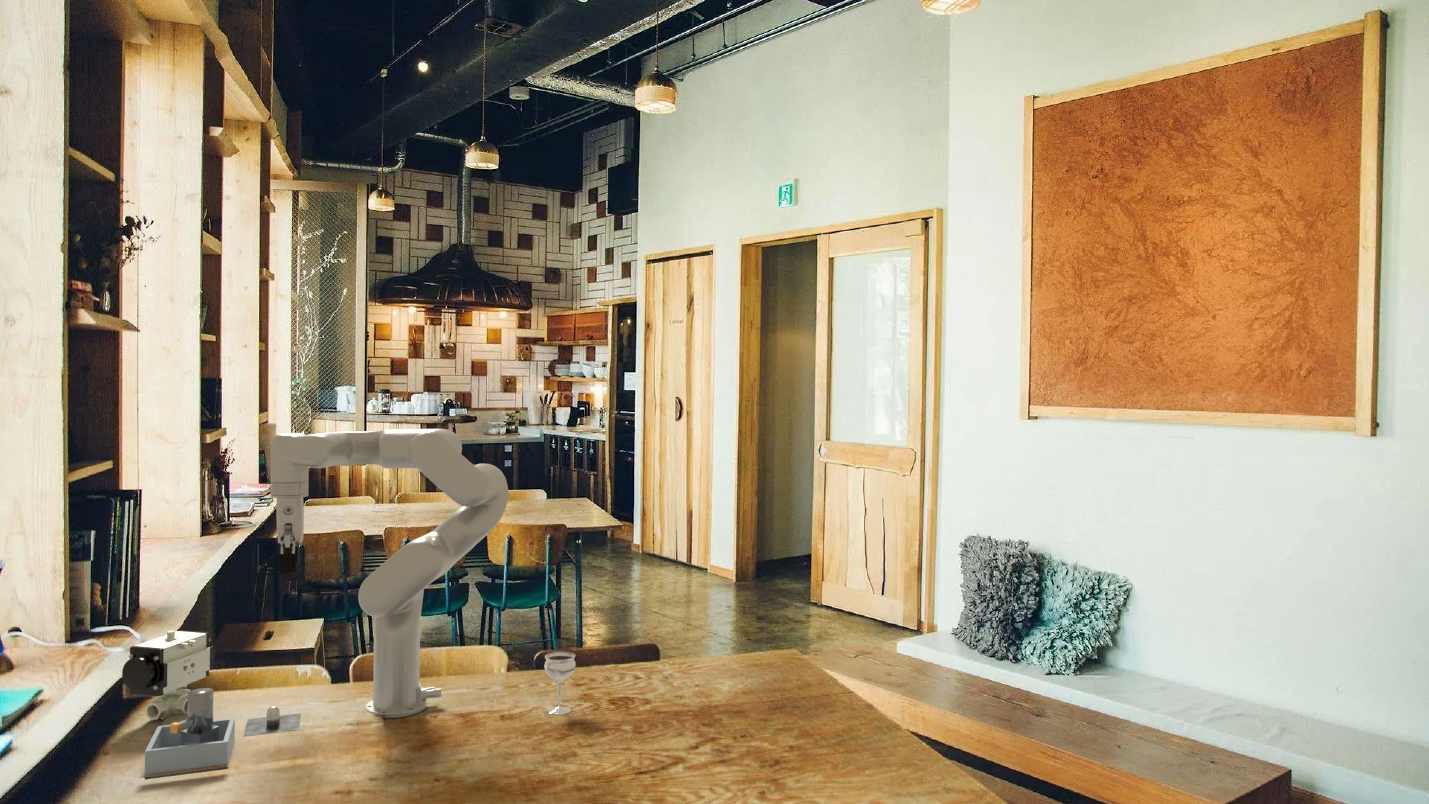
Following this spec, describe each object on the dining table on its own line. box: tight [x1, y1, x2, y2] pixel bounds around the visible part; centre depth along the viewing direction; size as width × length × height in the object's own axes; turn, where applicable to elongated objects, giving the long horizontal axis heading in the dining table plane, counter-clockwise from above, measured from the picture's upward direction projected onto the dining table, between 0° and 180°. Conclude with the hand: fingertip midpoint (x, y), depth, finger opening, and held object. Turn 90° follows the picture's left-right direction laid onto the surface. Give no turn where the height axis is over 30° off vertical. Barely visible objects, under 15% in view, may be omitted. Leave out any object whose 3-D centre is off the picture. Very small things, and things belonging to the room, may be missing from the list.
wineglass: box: [543, 651, 577, 715], centre depth 200 cm, size 7×7×12 cm
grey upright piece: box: [169, 687, 219, 746], centre depth 170 cm, size 8×4×12 cm, turn 163°
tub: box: [144, 717, 236, 780], centre depth 170 cm, size 13×13×5 cm
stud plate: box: [243, 705, 302, 737], centre depth 186 cm, size 10×10×5 cm
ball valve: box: [121, 629, 216, 721], centre depth 193 cm, size 18×8×18 cm, turn 168°
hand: (288, 567), depth 200 cm, fingers open, 9 cm apart
